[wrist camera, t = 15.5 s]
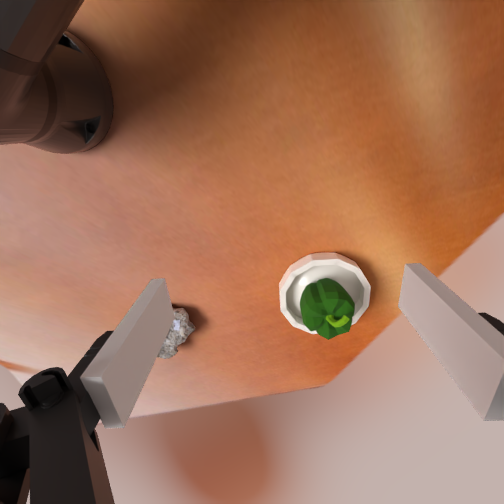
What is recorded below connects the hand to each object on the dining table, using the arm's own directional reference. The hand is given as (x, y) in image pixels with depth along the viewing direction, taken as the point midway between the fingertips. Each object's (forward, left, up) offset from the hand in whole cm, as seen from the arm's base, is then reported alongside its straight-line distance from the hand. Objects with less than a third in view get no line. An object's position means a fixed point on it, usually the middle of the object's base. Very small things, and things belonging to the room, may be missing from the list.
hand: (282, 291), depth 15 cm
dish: (+8, -19, -29) cm, 35 cm away
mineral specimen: (-22, -25, -29) cm, 44 cm away
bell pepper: (+8, -19, -28) cm, 35 cm away
